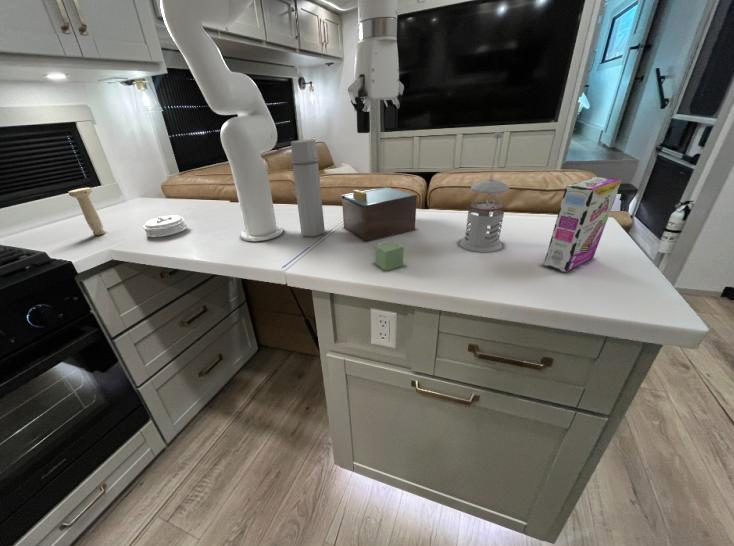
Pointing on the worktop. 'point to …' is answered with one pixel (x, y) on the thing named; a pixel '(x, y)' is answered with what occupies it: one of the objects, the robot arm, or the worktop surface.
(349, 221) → the walnut box
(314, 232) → the water bottle
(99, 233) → the handle
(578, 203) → the candy bar box
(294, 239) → the worktop surface
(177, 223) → the lid
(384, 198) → the sliding box cover
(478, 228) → the french press
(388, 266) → the block
